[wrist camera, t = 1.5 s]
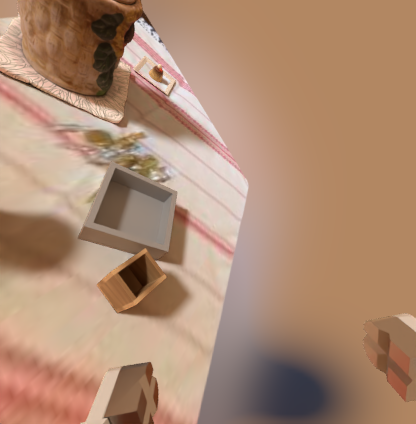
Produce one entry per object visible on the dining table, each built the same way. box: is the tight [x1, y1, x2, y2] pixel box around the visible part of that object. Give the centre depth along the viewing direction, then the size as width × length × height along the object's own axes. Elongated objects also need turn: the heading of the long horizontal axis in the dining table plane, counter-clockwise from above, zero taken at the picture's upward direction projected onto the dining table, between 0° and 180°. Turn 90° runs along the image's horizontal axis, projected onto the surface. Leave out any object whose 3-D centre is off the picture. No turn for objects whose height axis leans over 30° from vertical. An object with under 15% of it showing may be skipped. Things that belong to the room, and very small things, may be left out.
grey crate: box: [78, 161, 177, 260], centre depth 41 cm, size 14×14×5 cm
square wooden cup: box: [97, 248, 166, 313], centre depth 33 cm, size 6×6×8 cm
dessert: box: [133, 56, 176, 95], centre depth 70 cm, size 12×12×5 cm
